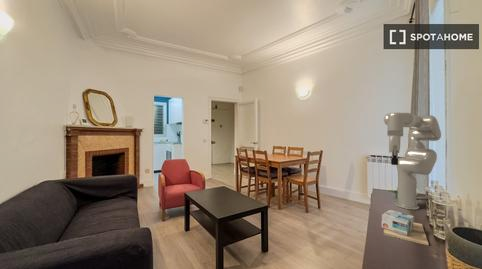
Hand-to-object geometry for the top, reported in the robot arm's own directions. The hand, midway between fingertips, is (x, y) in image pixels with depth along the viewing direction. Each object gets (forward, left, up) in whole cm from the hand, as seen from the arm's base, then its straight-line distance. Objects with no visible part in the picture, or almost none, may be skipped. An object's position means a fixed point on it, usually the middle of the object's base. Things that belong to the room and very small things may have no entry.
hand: (394, 164), depth 124 cm
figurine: (-26, -22, -29) cm, 45 cm away
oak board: (+13, +19, -29) cm, 37 cm away
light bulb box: (+12, +16, -25) cm, 32 cm away
